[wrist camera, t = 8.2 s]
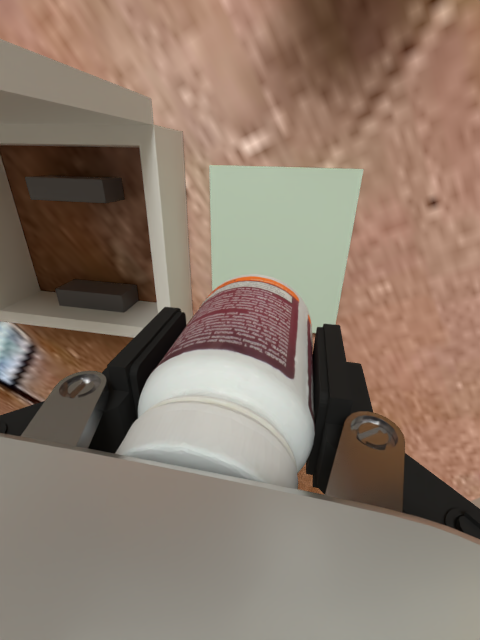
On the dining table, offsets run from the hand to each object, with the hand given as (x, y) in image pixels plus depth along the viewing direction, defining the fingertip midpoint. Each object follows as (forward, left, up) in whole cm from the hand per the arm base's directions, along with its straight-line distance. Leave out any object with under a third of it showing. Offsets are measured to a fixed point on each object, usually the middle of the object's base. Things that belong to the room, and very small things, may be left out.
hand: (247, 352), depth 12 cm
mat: (0, 0, -14) cm, 14 cm away
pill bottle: (0, 0, -2) cm, 2 cm away
